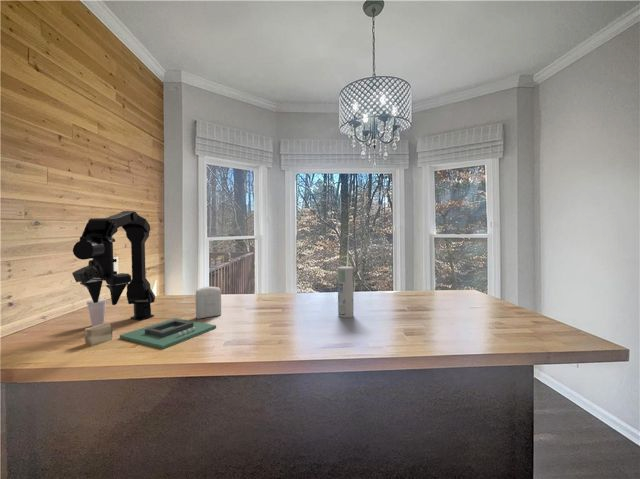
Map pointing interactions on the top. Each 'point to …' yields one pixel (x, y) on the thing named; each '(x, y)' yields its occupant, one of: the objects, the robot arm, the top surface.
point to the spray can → (345, 291)
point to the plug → (98, 334)
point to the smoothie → (97, 311)
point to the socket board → (168, 332)
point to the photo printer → (208, 302)
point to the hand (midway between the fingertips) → (104, 303)
